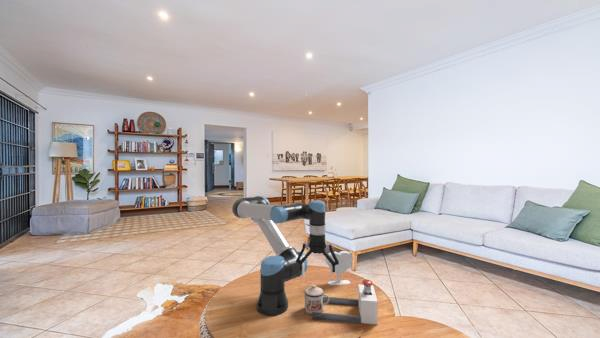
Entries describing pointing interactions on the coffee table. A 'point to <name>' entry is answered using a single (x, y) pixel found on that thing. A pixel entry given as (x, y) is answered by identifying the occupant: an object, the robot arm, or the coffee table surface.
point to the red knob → (367, 287)
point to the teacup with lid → (314, 299)
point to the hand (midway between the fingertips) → (317, 278)
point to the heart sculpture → (340, 266)
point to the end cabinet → (368, 306)
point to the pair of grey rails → (338, 316)
